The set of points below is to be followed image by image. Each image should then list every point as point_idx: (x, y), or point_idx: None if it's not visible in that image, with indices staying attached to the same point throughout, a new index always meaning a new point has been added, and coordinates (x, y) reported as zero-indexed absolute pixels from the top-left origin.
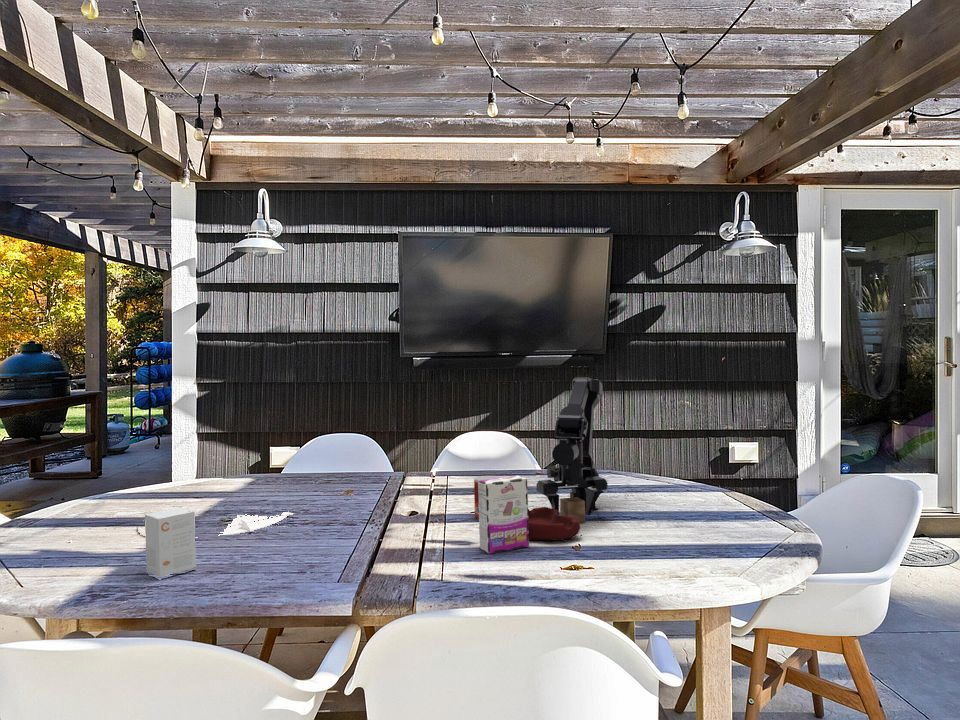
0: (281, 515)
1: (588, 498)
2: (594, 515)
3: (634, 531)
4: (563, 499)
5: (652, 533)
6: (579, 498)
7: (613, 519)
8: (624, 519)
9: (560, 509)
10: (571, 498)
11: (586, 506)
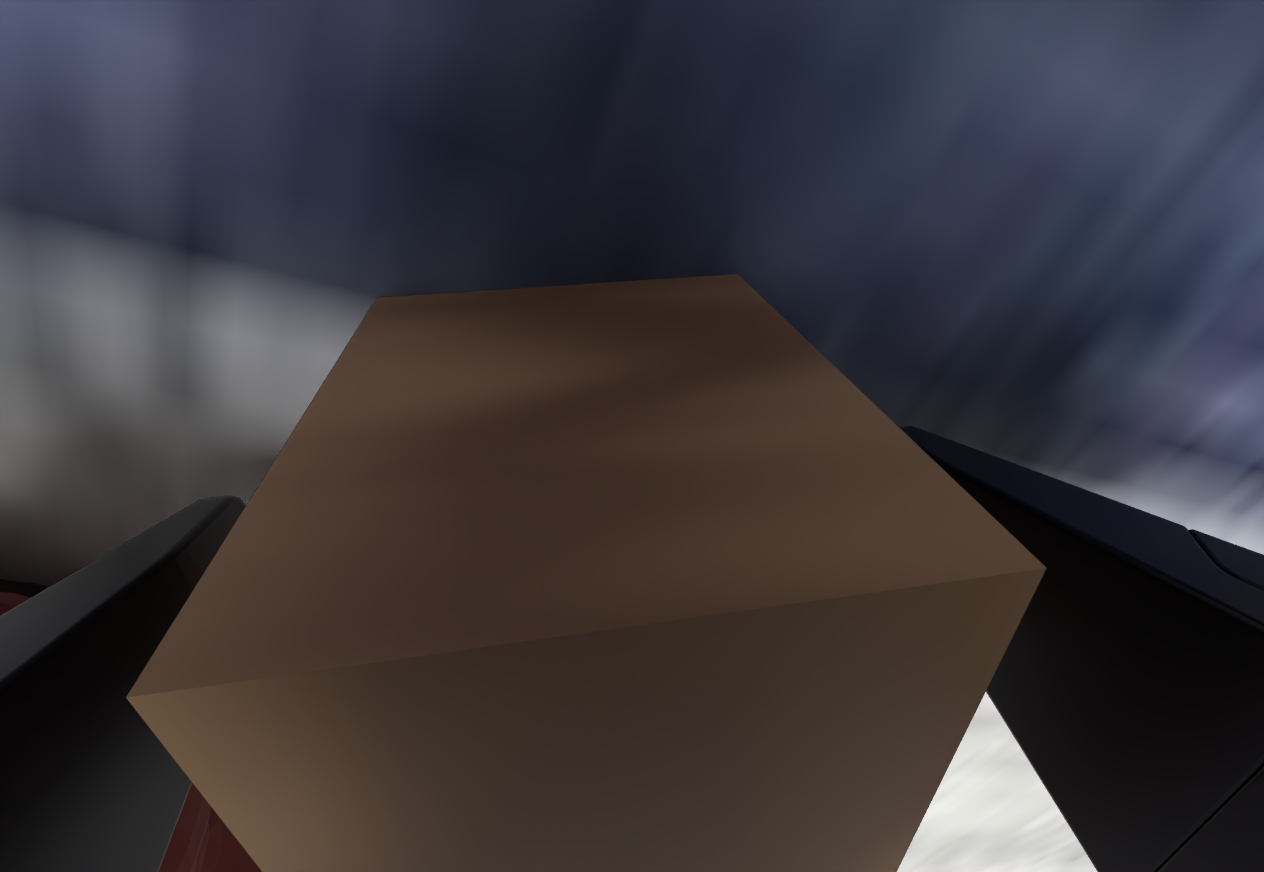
0: None
1: (1183, 738)
2: (1153, 142)
3: (955, 782)
4: (300, 819)
5: (1018, 814)
6: (965, 728)
7: (1152, 450)
8: (1245, 476)
9: (315, 416)
10: (702, 715)
11: (995, 512)
